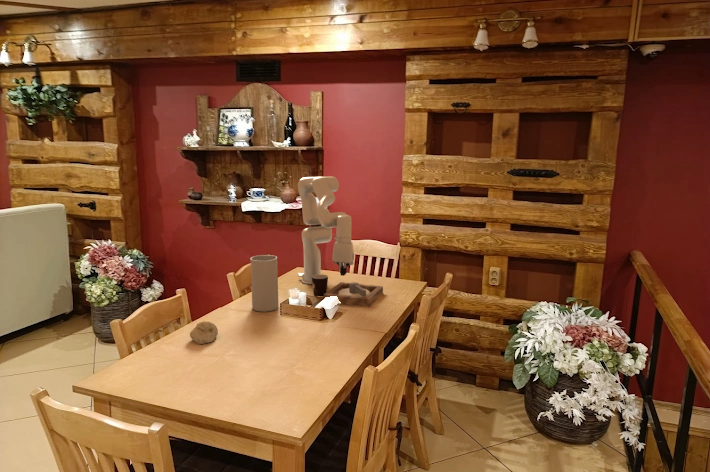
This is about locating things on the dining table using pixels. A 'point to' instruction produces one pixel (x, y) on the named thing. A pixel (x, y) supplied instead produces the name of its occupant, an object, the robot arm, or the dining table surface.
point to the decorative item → (204, 332)
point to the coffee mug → (319, 284)
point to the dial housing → (354, 300)
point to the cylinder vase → (264, 283)
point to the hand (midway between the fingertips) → (343, 274)
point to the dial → (354, 290)
